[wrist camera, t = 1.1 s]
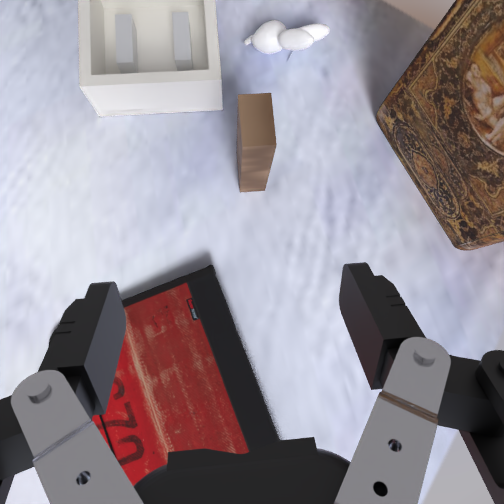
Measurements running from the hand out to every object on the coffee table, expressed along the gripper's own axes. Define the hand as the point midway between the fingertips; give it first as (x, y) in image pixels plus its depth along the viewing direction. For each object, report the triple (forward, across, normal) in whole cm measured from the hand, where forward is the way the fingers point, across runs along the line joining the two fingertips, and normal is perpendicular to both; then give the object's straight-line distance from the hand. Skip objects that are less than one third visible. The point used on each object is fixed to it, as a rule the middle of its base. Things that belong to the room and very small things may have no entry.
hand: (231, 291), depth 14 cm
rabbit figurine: (+33, -7, -2) cm, 34 cm away
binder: (+10, +6, +22) cm, 25 cm away
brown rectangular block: (+24, -2, +6) cm, 25 cm away
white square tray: (+33, +6, -3) cm, 34 cm away
